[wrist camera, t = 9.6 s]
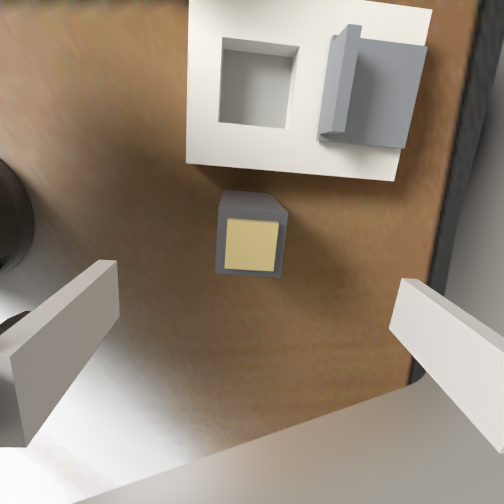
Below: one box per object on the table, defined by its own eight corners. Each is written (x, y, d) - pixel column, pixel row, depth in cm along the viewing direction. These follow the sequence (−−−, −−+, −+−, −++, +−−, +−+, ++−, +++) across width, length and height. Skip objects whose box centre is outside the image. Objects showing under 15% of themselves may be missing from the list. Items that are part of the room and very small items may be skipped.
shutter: (316, 140, 27) (330, 137, 23) (330, 38, 25) (349, 15, 21) (400, 148, 28) (428, 147, 24) (422, 49, 26) (457, 29, 22)
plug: (221, 233, 34) (214, 276, 22) (223, 189, 32) (217, 209, 20) (265, 236, 34) (281, 280, 22) (269, 192, 33) (289, 214, 21)
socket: (191, 162, 31) (185, 163, 28) (195, 1, 27) (189, -24, 23) (375, 178, 33) (394, 181, 29) (406, 28, 29) (432, 9, 25)
